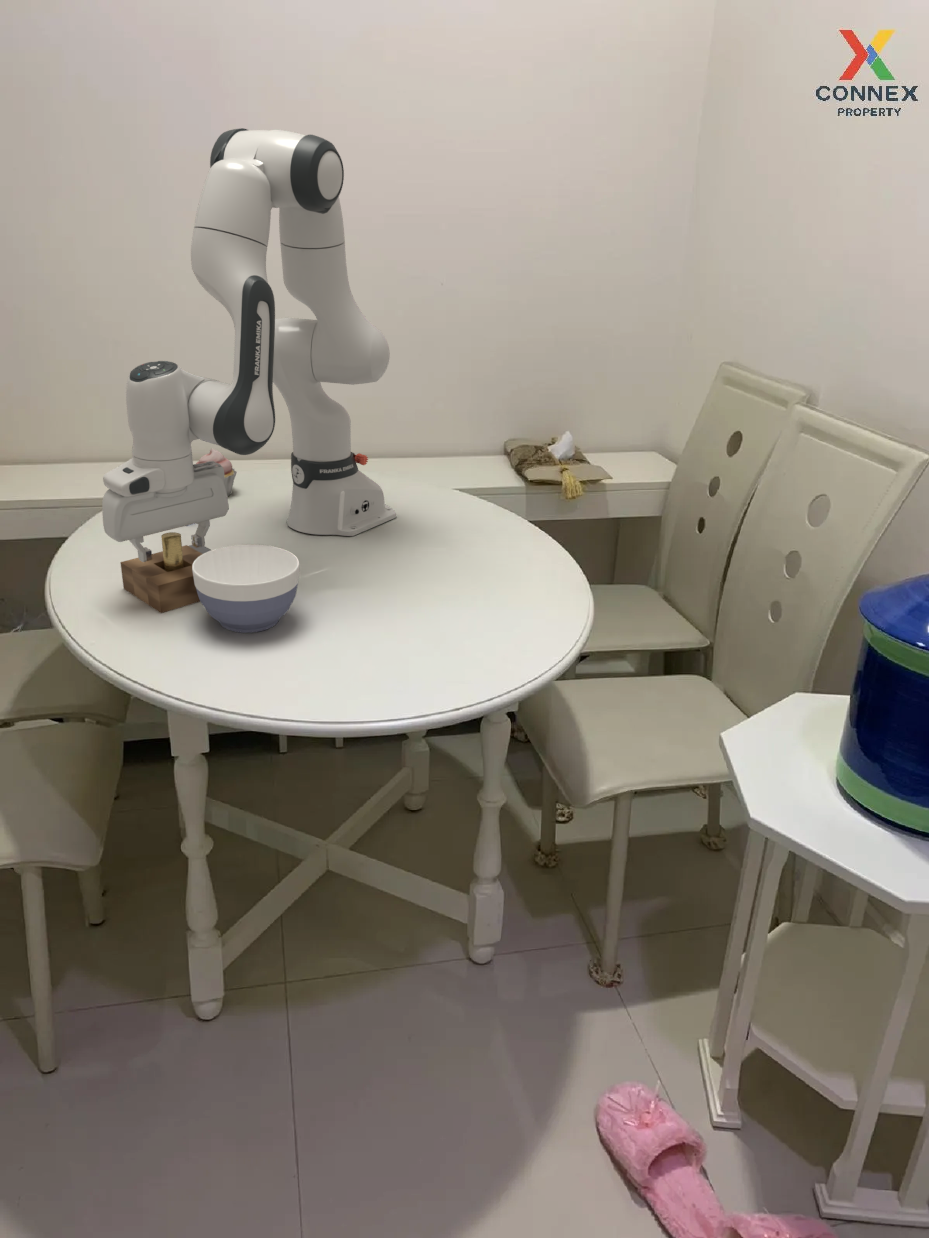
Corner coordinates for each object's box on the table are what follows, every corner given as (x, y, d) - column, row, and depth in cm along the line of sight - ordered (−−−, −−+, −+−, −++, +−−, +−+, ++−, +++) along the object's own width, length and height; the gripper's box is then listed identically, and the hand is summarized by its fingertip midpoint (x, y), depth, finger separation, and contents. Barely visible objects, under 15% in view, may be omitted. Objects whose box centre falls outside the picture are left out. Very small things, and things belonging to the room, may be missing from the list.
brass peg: (179, 587, 154) (174, 531, 150) (189, 592, 152) (184, 536, 148) (163, 591, 152) (157, 535, 148) (172, 597, 150) (167, 540, 146)
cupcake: (193, 487, 200) (189, 442, 196) (237, 486, 202) (235, 441, 198) (192, 501, 192) (188, 455, 188) (238, 500, 194) (236, 454, 190)
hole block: (189, 572, 160) (186, 545, 158) (227, 594, 152) (225, 566, 150) (123, 590, 152) (120, 562, 150) (161, 614, 145) (158, 585, 142)
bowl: (213, 595, 152) (209, 541, 148) (309, 601, 152) (308, 547, 147) (183, 639, 138) (177, 581, 133) (289, 646, 137) (287, 587, 133)
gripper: (212, 454, 152) (218, 532, 158) (92, 477, 139) (104, 562, 145) (233, 463, 148) (238, 543, 154) (112, 488, 135) (123, 575, 141)
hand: (172, 552), depth 149 cm, fingers open, 8 cm apart
